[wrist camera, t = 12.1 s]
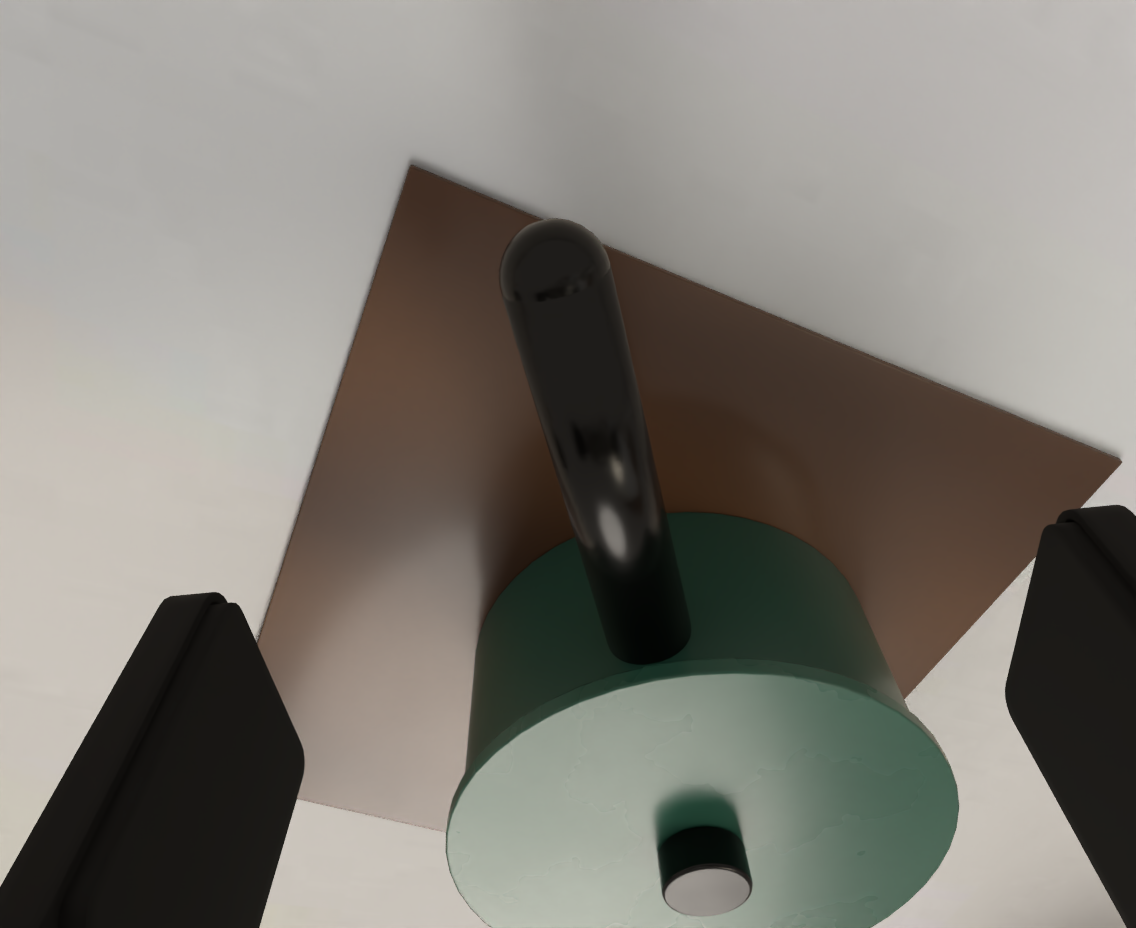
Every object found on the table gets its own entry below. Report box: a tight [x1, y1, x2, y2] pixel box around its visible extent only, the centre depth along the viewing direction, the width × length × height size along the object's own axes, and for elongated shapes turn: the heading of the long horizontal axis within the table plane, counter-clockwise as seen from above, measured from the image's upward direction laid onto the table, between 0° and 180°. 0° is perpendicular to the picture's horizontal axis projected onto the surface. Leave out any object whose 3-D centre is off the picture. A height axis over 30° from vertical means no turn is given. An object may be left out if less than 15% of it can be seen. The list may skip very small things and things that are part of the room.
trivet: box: [257, 165, 1122, 832], centre depth 24 cm, size 20×18×1 cm
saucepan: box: [446, 218, 959, 928], centre depth 19 cm, size 12×20×7 cm, turn 14°
